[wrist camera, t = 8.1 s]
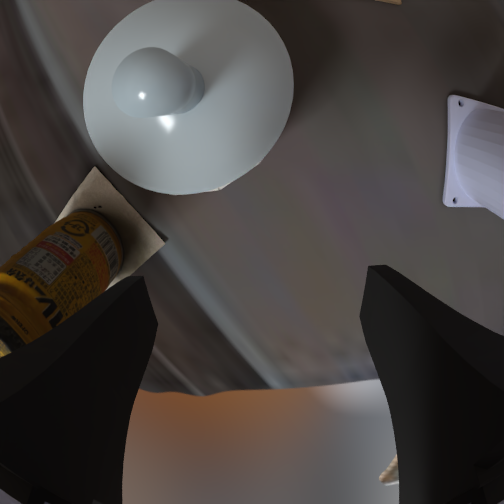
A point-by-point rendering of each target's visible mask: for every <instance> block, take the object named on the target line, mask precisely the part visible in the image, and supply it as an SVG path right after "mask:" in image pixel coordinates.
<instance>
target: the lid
mask: <svg viewBox="0 0 504 504" xmlns="http://www.w3.org/2000/svg"><path fill="white" fill-rule="evenodd" d="M293 90H294V80H293V69H292V65H291V61H290V57H289V54H288V52H287V49H286V47H285V44H284V43H283V41H282V39H281V38H280V36H279V34H278V33H277V31H276V30H275V29H274V28H273V26H272V25H271V24H270V23H269V22H268V21H267V20H266V19H265V18H264V17H263V16H262V15H261V14H259V13H258V12H257V11H255V10H254V9H252V8H251V7H249V6H248V5H246V4H244V3H242V2H240V1H237V0H154V1H152V2H150V3H148V4H146V5H144V6H142V7H140V8H138V9H137V10H135V11H133V12H132V13H131V14H129V15H128V16H126V17H125V18H124V19H123V20H122V21H120V22H119V23H118V24H117V25H116V26H115V27H114V28H113V29H112V30H111V31H110V32H109V34H108V35H107V36H106V37H105V39H104V40H103V42H102V43H101V44H100V46H99V48H98V49H97V51H96V53H95V55H94V57H93V59H92V61H91V64H90V66H89V69H88V72H87V76H86V80H85V86H84V93H83V108H84V116H85V122H86V125H87V129H88V132H89V135H90V137H91V140H92V142H93V144H94V146H95V147H96V149H97V151H98V153H99V154H100V155H101V157H102V158H103V159H104V161H105V162H106V163H107V164H108V165H109V166H110V167H111V168H112V169H113V170H114V171H115V172H117V173H118V174H119V175H121V176H122V177H123V178H125V179H126V180H128V181H130V182H132V183H133V184H135V185H138V186H140V187H142V188H145V189H148V190H151V191H155V192H159V193H166V194H181V195H185V194H195V193H201V192H205V191H209V190H213V189H216V188H218V187H221V186H224V185H226V184H228V183H230V182H232V181H234V180H236V179H238V178H239V177H241V176H242V175H244V174H245V173H247V172H248V171H250V170H251V169H252V168H253V167H254V166H255V165H257V164H258V163H259V162H260V161H261V160H262V159H263V158H264V157H265V156H266V155H267V153H268V152H269V151H270V150H271V149H272V147H273V146H274V144H275V143H276V141H277V140H278V138H279V137H280V135H281V133H282V131H283V129H284V127H285V125H286V122H287V119H288V116H289V114H290V110H291V105H292V100H293Z"/></svg>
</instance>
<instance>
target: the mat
mask: <svg viewBox="0 0 504 504" xmlns="http://www.w3.org/2000/svg"><path fill="white" fill-rule="evenodd" d="M377 1H382V2H387V3H392V4H396V5H400V4H402V3H401V0H377Z"/></svg>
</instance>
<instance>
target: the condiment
mask: <svg viewBox="0 0 504 504" xmlns="http://www.w3.org/2000/svg"><path fill="white" fill-rule="evenodd" d="M94 206H95V207H97V208H96V209H94ZM98 206H102V208H98ZM164 244H165V243H164V241H163V240H162V239H161V238H160V237H159V236H158V235H157V233H156V232H155V231H154V230H153V229H152V228H151V227H150V226H149V225H148V223H147V222H146V221H145V220H144V219H143V218H142V217H141V216H140V215H139V213H138V212H137V211H136V210H135V209H134V208H133V207H132V206H131V205H130V204H129V203H128V202H127V201H126V199H125V198H124V196H122V195H121V194H120V193H119V192H118V191H117V190H116V189H115V188H114V187H113V186H112V184H111V183H110V182H109V181H108V180H107V179H106V178H105V177H104V176H103V175H102V174H101V173H100V172H99V170H98V169H97V168H96V167H94V168H93V169H92V170H91V172H90V173H89V174H88V175H87V177H86V178H85V180H84V181H83V182H82V183H81V185H80V186H79V187H78V189H77V191H76V192H75V193H74V195H73V196H72V197H71V199H70V200H69V202H68V203H67V205H66V207H65V208H64V210H63V211H62V213H61V214H60V216H59V217H58V219H57V220H56V222H55V223H54V224H53V225H51V226H49V227H48V228H46V229H45V230H44V231H43V232H42V233H41V234H40V235H38V236H37V237H36V238H35V239H34V240H33V241H31V242H30V243H28V245H27V246H25V247H23V248H22V249H21V251H19V252H18V253H17V254H14V255H13V256H11V258H10V259H9V260H8V261H7V262H6V263H5V264H4V265H2V266H1V267H0V358H1V357H3V356H5V355H7V354H9V353H11V352H13V351H15V350H17V349H19V348H21V347H23V346H25V345H27V344H28V343H30V342H32V341H34V340H35V339H37V338H39V337H40V336H42V335H44V334H45V333H47V332H48V331H50V330H52V329H53V328H55V327H56V326H58V325H59V324H60V323H62V322H63V321H65V320H66V319H67V318H69V317H70V316H72V315H73V314H74V313H76V312H77V311H79V310H80V309H81V308H83V307H84V306H85V305H87V304H88V303H89V302H91V301H92V300H93V299H95V298H96V297H97V296H99V295H100V294H102V293H103V292H104V291H106V290H107V289H108V288H110V287H111V286H113V285H114V284H116V283H117V282H119V281H120V280H122V279H124V278H125V277H127V276H130V275H131V274H132V273H133V272H134V271H135V270H137V268H139V267H140V266H141V265H142V264H143V263H144V262H145V261H146V260H147V259H149V258H150V257H151V256H152V255H153V254H154V253H155V252H157V251H158V250H159V249H160V248H161V247H162V246H163V245H164ZM127 253H128V254H127Z"/></svg>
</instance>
